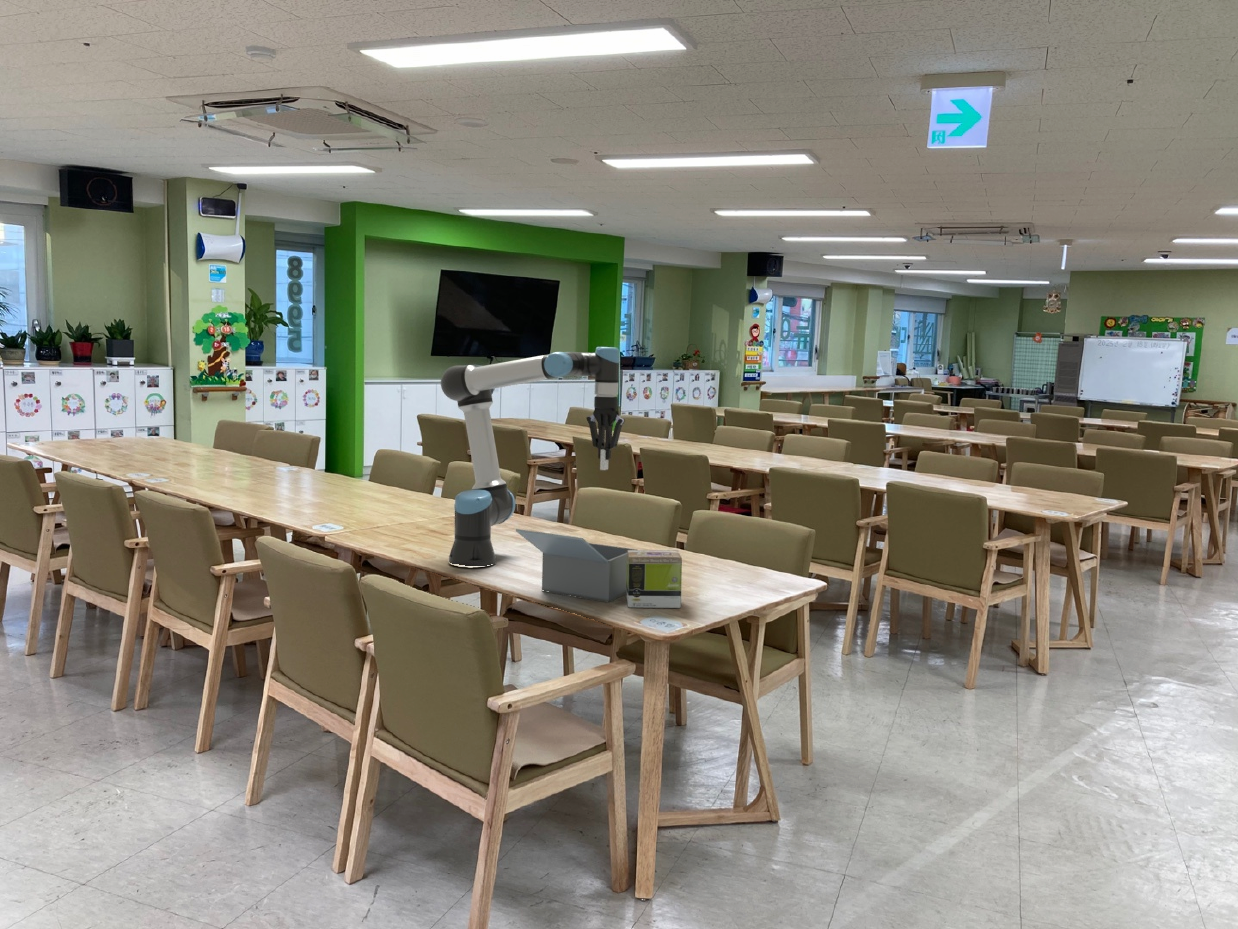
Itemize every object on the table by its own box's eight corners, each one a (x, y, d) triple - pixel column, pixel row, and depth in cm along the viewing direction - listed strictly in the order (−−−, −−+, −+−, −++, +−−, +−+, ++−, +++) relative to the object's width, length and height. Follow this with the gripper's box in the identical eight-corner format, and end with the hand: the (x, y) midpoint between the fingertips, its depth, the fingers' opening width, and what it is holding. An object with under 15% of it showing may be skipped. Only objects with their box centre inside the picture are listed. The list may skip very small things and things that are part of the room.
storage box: (541, 591, 277) (542, 551, 276) (572, 578, 293) (573, 540, 292) (608, 602, 268) (609, 561, 266) (636, 588, 283) (637, 549, 282)
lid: (544, 551, 276) (543, 553, 275) (516, 528, 261) (515, 530, 261) (608, 560, 266) (607, 562, 266) (582, 538, 252) (582, 540, 251)
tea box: (677, 599, 273) (679, 549, 271) (680, 609, 263) (683, 557, 261) (625, 598, 273) (627, 548, 271) (626, 608, 263) (628, 556, 261)
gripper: (629, 396, 301) (627, 470, 304) (593, 394, 307) (591, 466, 310) (619, 397, 295) (616, 472, 298) (582, 395, 300) (580, 468, 303)
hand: (604, 469), depth 304 cm, fingers closed
